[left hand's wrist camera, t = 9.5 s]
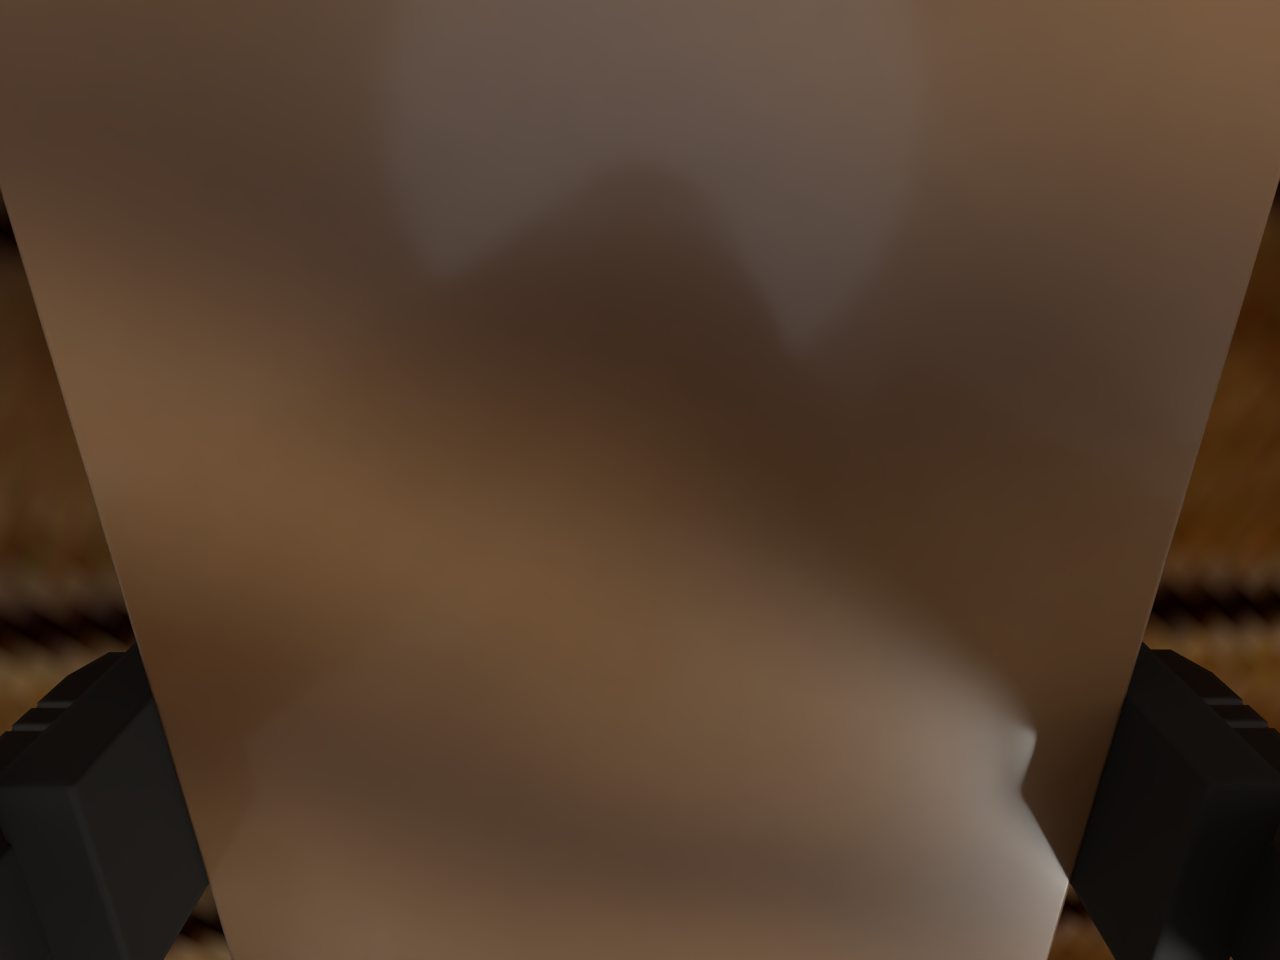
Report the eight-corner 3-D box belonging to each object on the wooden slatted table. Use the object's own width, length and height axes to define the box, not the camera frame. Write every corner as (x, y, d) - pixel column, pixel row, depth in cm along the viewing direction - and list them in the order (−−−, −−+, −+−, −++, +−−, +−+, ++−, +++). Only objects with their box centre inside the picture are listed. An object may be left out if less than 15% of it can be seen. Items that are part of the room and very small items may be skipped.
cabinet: (233, -621, 10) (-837, -2557, 3) (1043, -621, 10) (2101, -2560, 3) (407, 632, 18) (240, 1000, 10) (872, 632, 18) (1037, 999, 10)
